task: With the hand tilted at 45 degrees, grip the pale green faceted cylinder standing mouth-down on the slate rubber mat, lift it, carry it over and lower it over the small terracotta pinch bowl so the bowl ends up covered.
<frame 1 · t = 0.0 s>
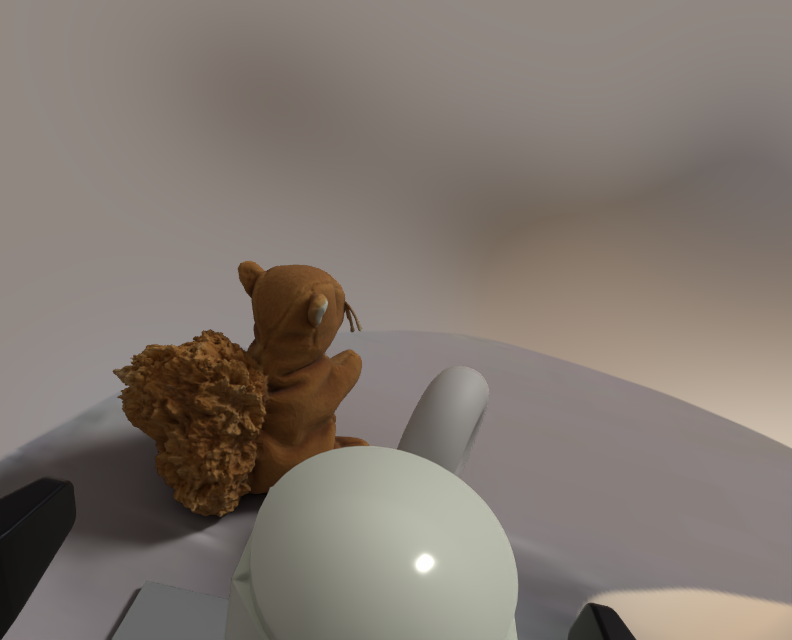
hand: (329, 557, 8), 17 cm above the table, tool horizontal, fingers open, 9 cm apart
stuffed squirrel: (253, 466, 32), on the table
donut: (418, 504, 32), on the table
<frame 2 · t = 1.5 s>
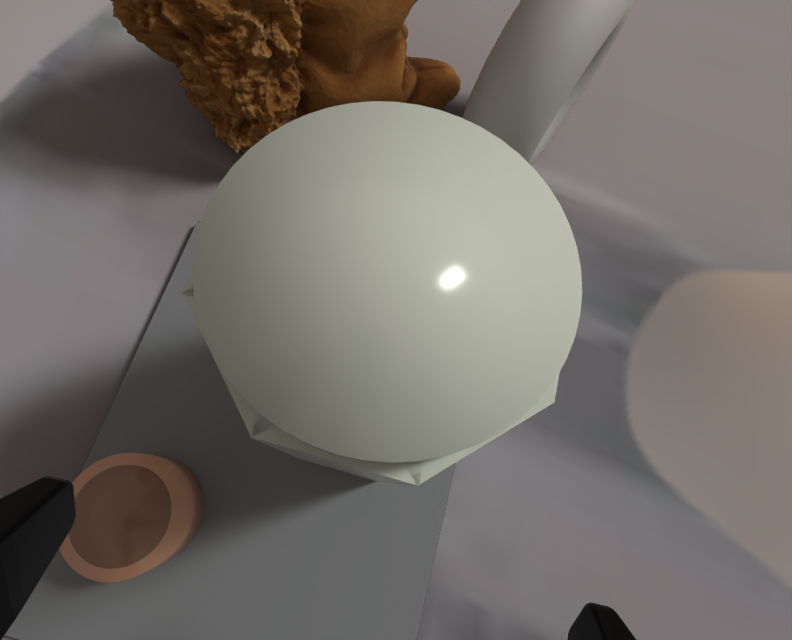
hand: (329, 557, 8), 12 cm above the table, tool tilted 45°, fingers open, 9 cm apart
pale green faceted cylinder: (366, 383, 21), resting on slate mat
stuffed squirrel: (310, 95, 26), on the table
pinch bowl: (149, 510, 19), resting on slate mat
slate mat: (283, 448, 20), on the table
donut: (503, 152, 26), on the table
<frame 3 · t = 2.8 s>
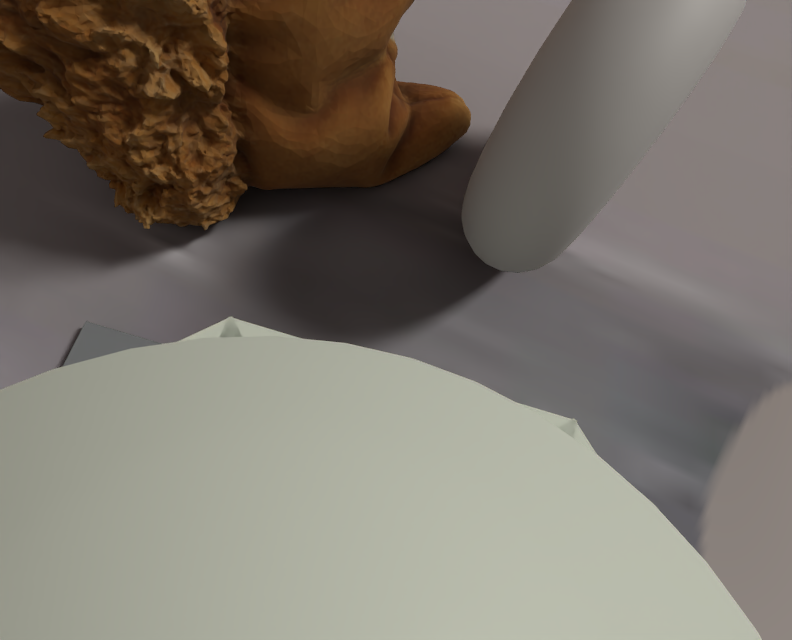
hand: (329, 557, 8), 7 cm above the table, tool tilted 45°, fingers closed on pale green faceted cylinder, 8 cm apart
pale green faceted cylinder: (323, 574, 14), resting on slate mat, touching gripper
stuffed squirrel: (267, 133, 19), on the table
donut: (523, 211, 19), on the table
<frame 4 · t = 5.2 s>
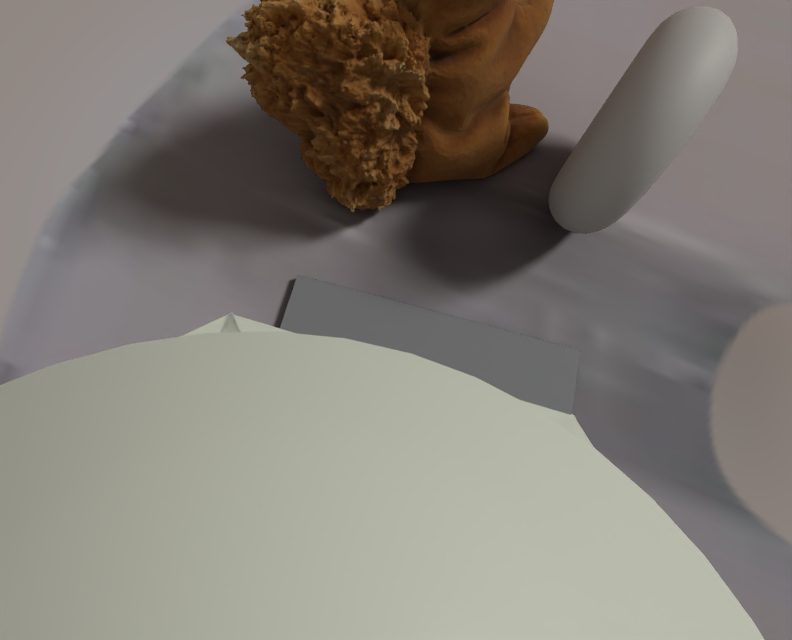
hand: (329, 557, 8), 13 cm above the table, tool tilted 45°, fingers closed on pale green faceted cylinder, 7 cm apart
pale green faceted cylinder: (322, 573, 14), point 7 cm above the table, touching gripper
stuffed squirrel: (402, 142, 27), on the table
slate mat: (396, 495, 21), on the table
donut: (579, 193, 27), on the table
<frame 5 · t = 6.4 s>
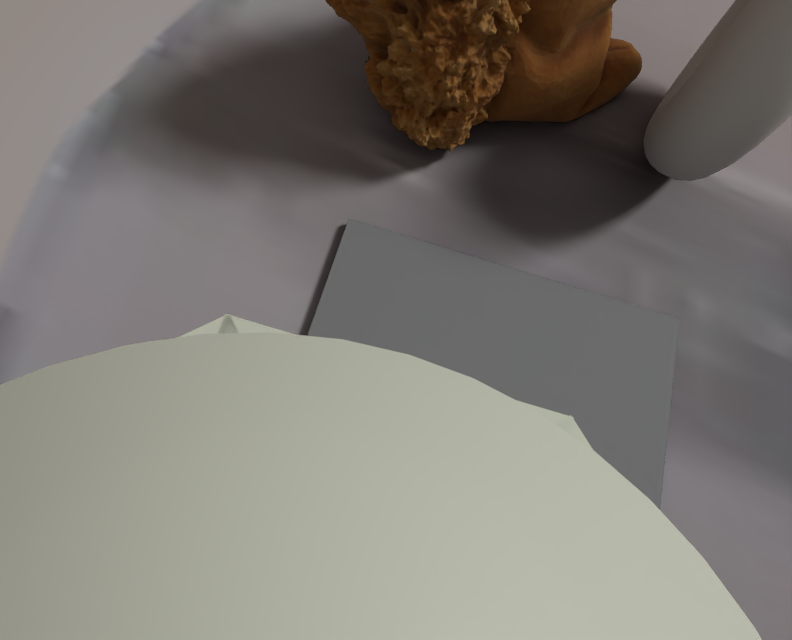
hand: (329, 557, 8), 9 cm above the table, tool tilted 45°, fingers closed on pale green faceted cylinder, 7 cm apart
pale green faceted cylinder: (322, 574, 14), point 2 cm above the table, touching gripper
stuffed squirrel: (471, 80, 23), on the table
slate mat: (464, 481, 18), on the table
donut: (668, 143, 23), on the table
when the fingers open (8 cm above the table, at t = 7.2 s): pale green faceted cylinder drops 1 cm, resting on slate mat.
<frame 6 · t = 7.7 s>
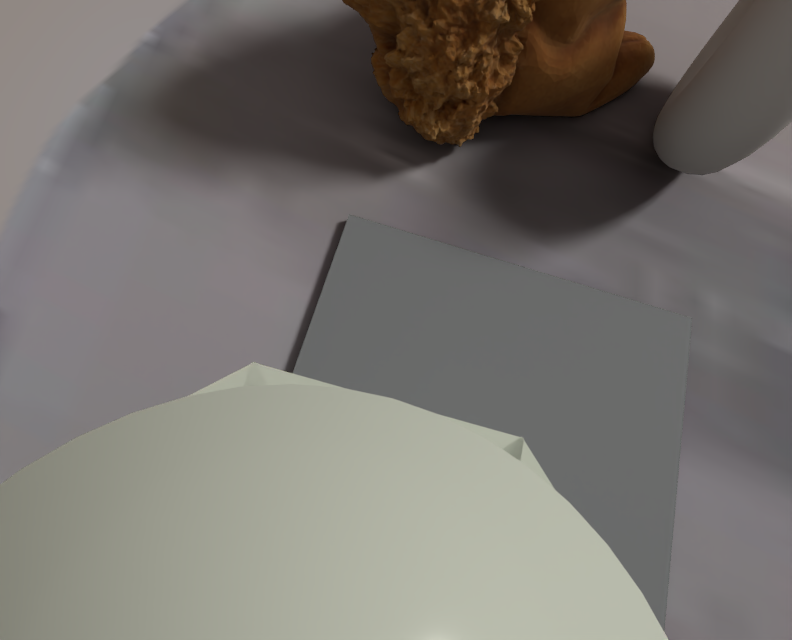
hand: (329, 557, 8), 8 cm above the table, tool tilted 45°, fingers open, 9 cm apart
pale green faceted cylinder: (326, 568, 15), resting on slate mat
stuffed squirrel: (480, 74, 23), on the table
slate mat: (470, 487, 17), on the table
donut: (678, 138, 23), on the table
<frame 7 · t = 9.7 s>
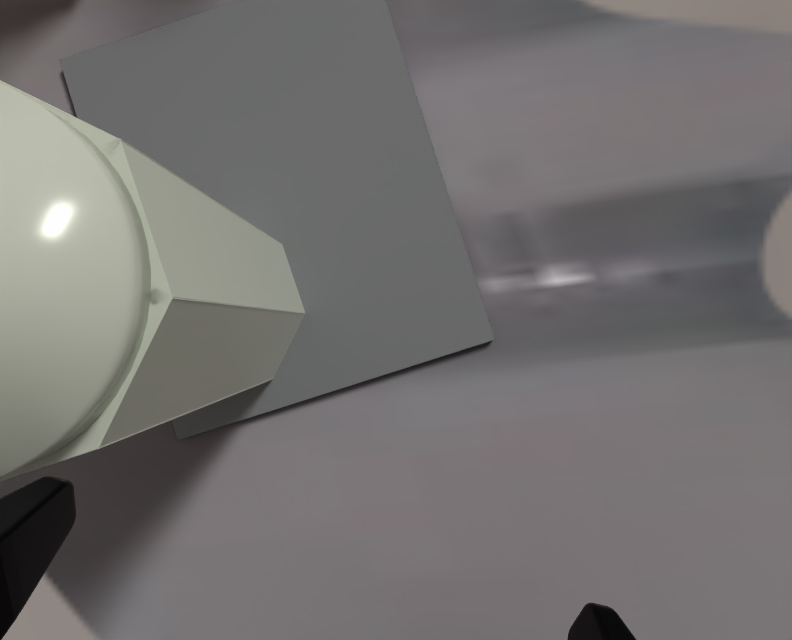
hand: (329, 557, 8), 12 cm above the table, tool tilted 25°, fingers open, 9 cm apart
pale green faceted cylinder: (211, 307, 21), resting on slate mat
slate mat: (276, 200, 21), on the table
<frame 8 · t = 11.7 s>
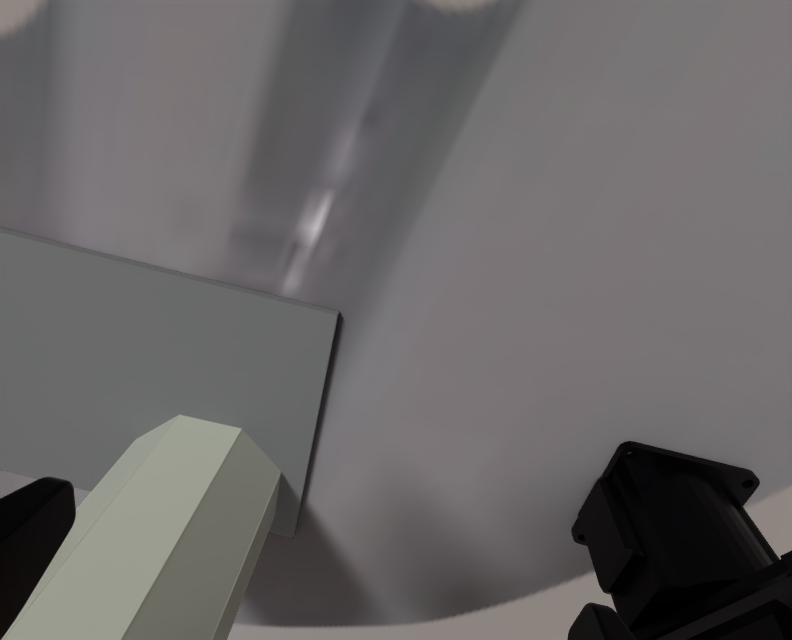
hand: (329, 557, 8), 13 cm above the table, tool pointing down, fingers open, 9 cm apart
pale green faceted cylinder: (207, 477, 25), resting on slate mat
slate mat: (143, 395, 24), on the table
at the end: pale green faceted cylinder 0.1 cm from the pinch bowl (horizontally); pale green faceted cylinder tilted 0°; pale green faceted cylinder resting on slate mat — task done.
